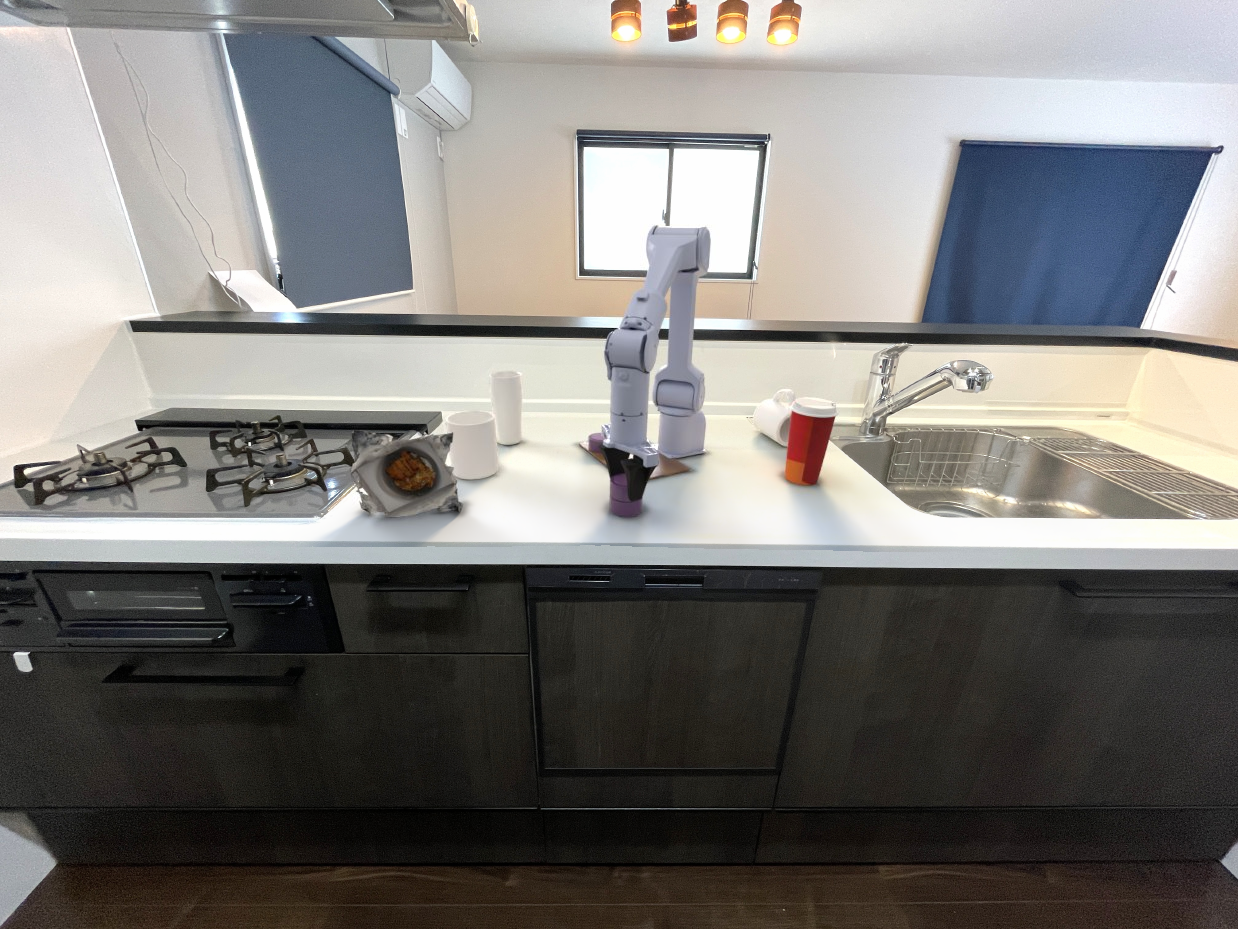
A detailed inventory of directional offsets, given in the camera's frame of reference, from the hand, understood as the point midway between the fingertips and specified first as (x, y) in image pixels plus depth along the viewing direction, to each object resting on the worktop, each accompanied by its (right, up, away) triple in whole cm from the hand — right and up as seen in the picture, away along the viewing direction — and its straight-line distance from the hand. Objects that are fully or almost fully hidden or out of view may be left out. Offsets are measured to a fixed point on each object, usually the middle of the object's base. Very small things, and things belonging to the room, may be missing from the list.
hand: (626, 491), depth 80 cm
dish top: (-5, +8, +25) cm, 26 cm away
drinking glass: (-25, +9, +28) cm, 39 cm away
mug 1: (-29, +4, +15) cm, 33 cm away
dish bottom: (0, -3, +1) cm, 3 cm away
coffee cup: (+33, +2, +14) cm, 36 cm away
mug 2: (+35, +10, +34) cm, 50 cm away
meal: (-34, -3, -1) cm, 34 cm away
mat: (+1, +6, +22) cm, 23 cm away
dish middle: (0, 0, 0) cm, 0 cm away
